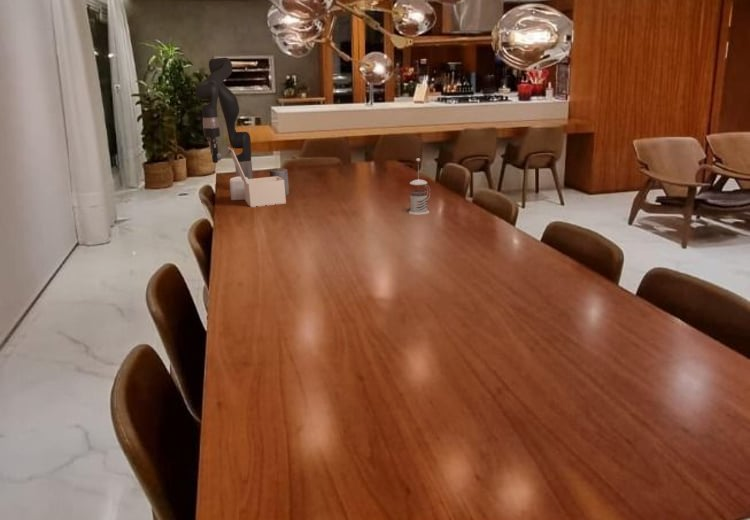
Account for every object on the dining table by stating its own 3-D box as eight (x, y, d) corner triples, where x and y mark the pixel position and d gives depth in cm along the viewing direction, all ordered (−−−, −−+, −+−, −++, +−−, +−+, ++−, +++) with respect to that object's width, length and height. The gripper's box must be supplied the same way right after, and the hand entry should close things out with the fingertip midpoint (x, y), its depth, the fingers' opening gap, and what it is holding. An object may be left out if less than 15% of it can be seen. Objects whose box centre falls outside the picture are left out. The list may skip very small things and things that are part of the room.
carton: (245, 202, 332) (243, 179, 329) (279, 198, 339) (277, 176, 335) (250, 207, 320) (248, 183, 316) (285, 203, 326) (284, 180, 323)
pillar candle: (268, 194, 350) (265, 167, 345) (282, 192, 356) (280, 165, 352) (277, 197, 343) (275, 169, 338) (292, 194, 349) (290, 167, 345)
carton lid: (243, 179, 329) (226, 187, 327) (228, 145, 322) (210, 152, 320) (248, 183, 316) (230, 191, 314) (232, 148, 309) (214, 155, 307)
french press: (404, 212, 296) (402, 158, 288) (422, 208, 303) (421, 155, 296) (418, 215, 289) (417, 160, 281) (436, 211, 296) (436, 157, 288)
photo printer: (250, 198, 343) (248, 175, 339) (250, 199, 339) (248, 176, 335) (231, 199, 342) (229, 176, 338) (230, 201, 338) (228, 177, 334)
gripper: (201, 126, 315) (205, 161, 320) (205, 128, 302) (209, 164, 307) (217, 125, 317) (220, 160, 322) (221, 127, 305) (225, 163, 310)
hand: (215, 162), depth 315 cm, fingers closed
